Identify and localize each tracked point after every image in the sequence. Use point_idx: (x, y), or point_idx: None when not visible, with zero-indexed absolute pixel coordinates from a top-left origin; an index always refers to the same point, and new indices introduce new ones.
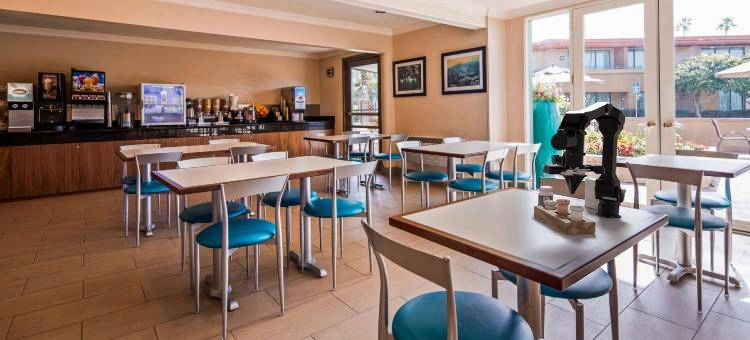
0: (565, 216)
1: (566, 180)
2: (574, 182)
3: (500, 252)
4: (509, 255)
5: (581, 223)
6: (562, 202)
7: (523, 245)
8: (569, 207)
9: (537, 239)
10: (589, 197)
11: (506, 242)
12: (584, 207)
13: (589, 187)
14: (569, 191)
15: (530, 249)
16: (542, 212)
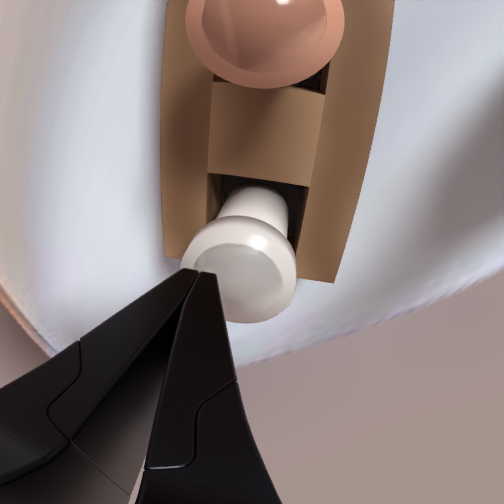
0: (237, 124)
1: (27, 402)
2: (137, 473)
3: (4, 295)
4: (18, 313)
5: None
6: (217, 75)
7: (35, 277)
8: (191, 241)
9: (68, 246)
10: None
11: (4, 246)
12: (275, 314)
13: None
14: (165, 281)
15: (48, 304)
16: None
